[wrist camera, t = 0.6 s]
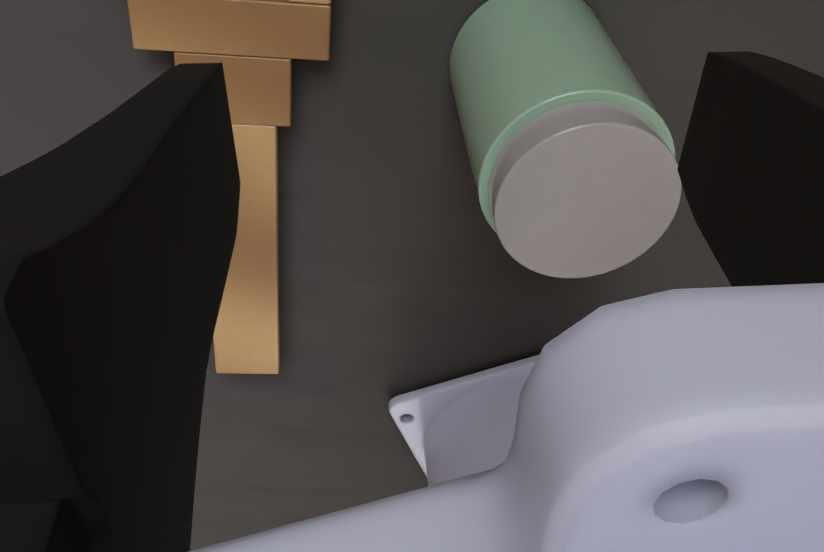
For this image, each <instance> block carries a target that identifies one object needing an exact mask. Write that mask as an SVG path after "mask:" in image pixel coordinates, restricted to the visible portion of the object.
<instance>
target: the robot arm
mask: <svg viewBox="0 0 824 552" xmlns="http://www.w3.org/2000/svg"><path fill="white" fill-rule="evenodd" d="M677 170H678V173H679V177H680V180H681V183H682V186H683V189H684V192H685V195H686V198H687V201H688V203H689V206H690V208H691V211H692V214H693V216H694V219H695V221H696V223H697V225H698V227H699V228H700V230H701V232H702V234H703V236H704V238H705V239H706V241H707V243H708V245H709V247H710V248H711V250H712V252H713V254H714V256H715V257H716V259H717V261H718V263H719V264H720V266H721V268H722V270H723V271H724V273H725V275H726V277H727V278H728V280H729V282H730V284H731V285H732V287H714V288H689V289H672V290H667V291H663V292H658V293H654V294H650V295H646V296H641V297H637V298H633V299H628V300H624V301H620V302H616V303H611V304H607V305H603V306H601V307H599V308H598V309H596V310H595V311H593V312H592V313H591V314H589V315H588V316H586V317H585V318H583V319H582V320H580V321H579V322H577V323H576V324H575V325H573V326H572V327H570V328H569V329H567V330H566V331H564V332H563V333H561V334H560V335H559V336H557V337H556V338H554V339H553V340H551V341H550V342H548V343H547V344H545V345H544V347H543V349H542V351H541V353H540V354H539V355H535V356H532V357H529V358H525V359H522V360H518V361H515V362H511V363H508V364H504V365H501V366H498V367H494V368H491V369H487V370H484V371H480V372H477V373H474V374H470V375H467V376H463V377H460V378H456V379H453V380H449V381H446V382H443V383H439V384H436V385H432V386H429V387H425V388H422V389H418V390H415V391H412V392H408V393H405V394H401V395H398V396H395V397H393V398H392V399H391V400H390V401H389V412H390V415H391V416H392V418H393V420H394V421H395V423H396V425H397V427H398V428H399V430H400V432H401V434H402V435H403V437H404V439H405V440H406V442H407V444H408V446H409V447H410V449H411V451H412V453H413V454H414V456H415V458H416V459H417V461H418V463H419V465H420V466H421V468H422V470H423V471H424V473H425V475H426V477H427V481H428V487H424V488H420V489H416V490H413V491H409V492H405V493H402V494H398V495H394V496H391V497H387V498H383V499H380V500H376V501H372V502H369V503H365V504H361V505H358V506H354V507H350V508H347V509H343V510H339V511H336V512H332V513H328V514H325V515H321V516H317V517H314V518H310V519H306V520H303V521H299V522H295V523H291V524H288V525H284V526H280V527H277V528H273V529H269V530H266V531H262V532H258V533H255V534H251V535H247V536H244V537H240V538H236V539H233V540H229V541H225V542H222V543H218V544H214V545H211V546H207V547H203V548H200V549H196V550H192V551H190V542H191V529H192V515H193V502H194V488H195V477H196V466H197V455H198V444H199V433H200V423H201V414H202V405H203V395H204V386H205V377H206V370H207V364H208V358H209V353H210V347H211V343H212V339H213V335H214V330H215V326H216V322H217V318H218V313H219V309H220V305H221V301H222V297H223V292H224V288H225V284H226V280H227V275H228V271H229V267H230V262H231V258H232V254H233V249H234V245H235V240H236V235H237V225H238V213H239V199H240V184H241V182H240V176H239V169H238V163H237V156H236V149H235V143H234V136H233V130H232V123H231V117H230V110H229V103H228V97H227V90H226V84H225V77H224V70H223V64H222V63H183V64H178V65H176V66H174V67H172V68H171V69H169V70H168V71H166V72H165V73H163V74H162V75H161V76H159V77H158V78H157V79H155V80H154V81H153V82H151V83H150V84H149V85H147V86H146V87H145V88H143V89H142V90H141V91H139V92H138V93H137V94H135V95H134V96H133V97H131V98H130V99H129V100H127V101H126V102H125V103H123V104H122V105H121V106H119V107H118V108H117V109H115V110H114V111H112V112H111V113H110V114H108V115H107V116H105V117H104V118H102V119H101V120H99V121H98V122H96V123H95V124H93V125H91V126H90V127H88V128H87V129H85V130H84V131H82V132H81V133H79V134H78V135H76V136H75V137H73V138H72V139H70V140H69V141H67V142H66V143H64V144H62V145H60V146H59V147H57V148H55V149H54V150H52V151H50V152H48V153H46V154H45V155H43V156H41V157H39V158H37V159H35V160H33V161H31V162H29V163H27V164H25V165H23V166H21V167H19V168H17V169H15V170H13V171H11V172H9V173H7V174H5V175H3V176H1V177H0V552H824V78H823V77H821V76H818V75H816V74H813V73H811V72H808V71H806V70H804V69H801V68H799V67H796V66H794V65H791V64H788V63H786V62H783V61H780V60H777V59H774V58H771V57H768V56H765V55H761V54H757V53H753V52H708V54H707V58H706V62H705V65H704V69H703V73H702V77H701V81H700V85H699V88H698V92H697V96H696V100H695V104H694V108H693V111H692V115H691V119H690V123H689V127H688V130H687V134H686V138H685V142H684V146H683V150H682V153H681V157H680V161H679V165H678V169H677ZM404 414H408V415H404Z"/></svg>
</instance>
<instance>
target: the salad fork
mask: <svg viewBox="0 0 824 552" xmlns="http://www.w3.org/2000/svg"><path fill="white" fill-rule="evenodd" d="M331 1H332V0H127V4H128V11H129V19H130V27H131V34H132V42H133V47H134V48H135V49H144V50H160V51H174V63H175V66H176V65H178V64H183V63H222V64H223V70H224V77H225V84H226V90H227V97H228V103H229V110H230V117H231V123H232V130H233V136H234V143H235V149H236V156H237V163H238V169H239V176H240V182H241V184H240V199H239V213H238V225H237V235H236V240H235V245H234V249H233V254H232V258H231V262H230V267H229V271H228V275H227V280H226V284H225V288H224V292H223V297H222V301H221V305H220V309H219V313H218V318H217V322H216V326H215V330H214V335H213V341H214V353H215V365H216V372H217V373H241V374H278V373H279V365H280V309H279V200H278V126H288V127H289V126H290V125H291V118H292V59H305V60H322V61H328V60H329V58H330V30H331Z"/></svg>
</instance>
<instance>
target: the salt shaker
mask: <svg viewBox="0 0 824 552" xmlns="http://www.w3.org/2000/svg"><path fill="white" fill-rule="evenodd" d="M449 75H450V82H451V87H452V91H453V95H454V99H455V103H456V107H457V111H458V115H459V120H460V124H461V128H462V132H463V136H464V140H465V144H466V149H467V153H468V157H469V161H470V165H471V169H472V173H473V177H474V182H475V186H476V190H477V194H478V198H479V202H480V206H481V209H482V212H483V214H484V216H485V219H486V221H487V222H488V224H489V225H490V227H491V228H492V229H493V230H494V231H495V232H496V234H497V235H498V238H499V240H500V242H501V244H502V245H503V247H504V248H505V250H506V251H507V252H508V253H509V254H510V256H511V257H512V258H513V259H515V260H516V261H517V262H519V263H520V264H521V265H523V266H524V267H526V268H528V269H530V270H532V271H534V272H537V273H539V274H543V275H547V276H551V277H557V278H584V277H590V276H595V275H599V274H603V273H606V272H609V271H612V270H615V269H617V268H619V267H621V266H623V265H626V264H627V263H629V262H631V261H633V260H634V259H636V258H637V257H639V256H640V255H642V254H643V253H644V252H646V251H647V250H648V249H649V248H650V247H651V246H653V245H654V244H655V243H656V242H657V240H658V239H659V238H660V237H661V236H662V235H663V234H664V232H665V231H666V229H667V228H668V227H669V225H670V223H671V221H672V220H673V218H674V216H675V213H676V211H677V208H678V205H679V201H680V197H681V187H682V184H681V180H680V177H679V173H678V170H677V169H678V163H677V161H676V158H675V147H674V142H673V138H672V135H671V133H670V131H669V128H668V127H667V125H666V123H665V122H664V120H663V119H662V117H661V116H660V114H659V113H658V111H657V109H656V108H655V106H654V105H653V103H652V102H651V100H650V99H649V97H648V95H647V94H646V92H645V91H644V89H643V88H642V86H641V85H640V83H639V81H638V80H637V78H636V77H635V75H634V74H633V72H632V70H631V69H630V67H629V66H628V64H627V63H626V61H625V60H624V58H623V56H622V55H621V53H620V52H619V50H618V49H617V47H616V46H615V44H614V42H613V41H612V39H611V38H610V36H609V35H608V33H607V32H606V30H605V28H604V27H603V25H602V24H601V22H600V21H599V19H598V18H597V16H596V15H595V13H594V11H593V10H592V9H591V8H590V7H589V6H588V5H587V4H586V3H585V2H584V1H583V0H488V1H487V2H486V3H484V4H483V5H482V6H480V7H479V8H478V9H477V10H476V11H475V12H474V13H473V14H472V15H471V16H470V17H469V18H468V20H467V21H466V22H465V23H464V25H463V27H462V28H461V30H460V31H459V33H458V35H457V37H456V40H455V42H454V45H453V48H452V51H451V56H450V62H449Z"/></svg>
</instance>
